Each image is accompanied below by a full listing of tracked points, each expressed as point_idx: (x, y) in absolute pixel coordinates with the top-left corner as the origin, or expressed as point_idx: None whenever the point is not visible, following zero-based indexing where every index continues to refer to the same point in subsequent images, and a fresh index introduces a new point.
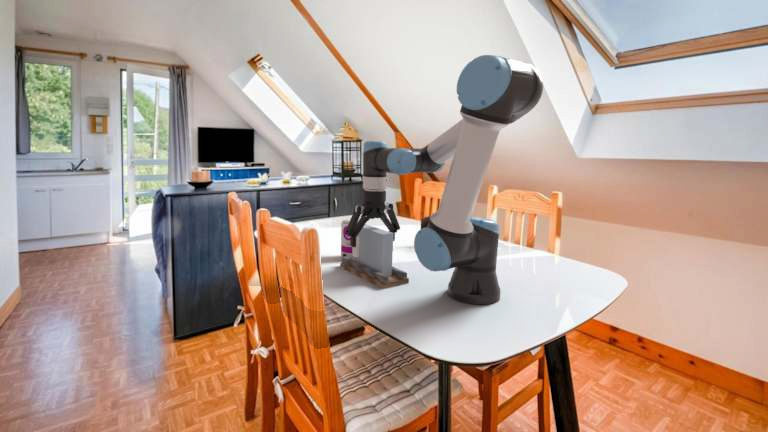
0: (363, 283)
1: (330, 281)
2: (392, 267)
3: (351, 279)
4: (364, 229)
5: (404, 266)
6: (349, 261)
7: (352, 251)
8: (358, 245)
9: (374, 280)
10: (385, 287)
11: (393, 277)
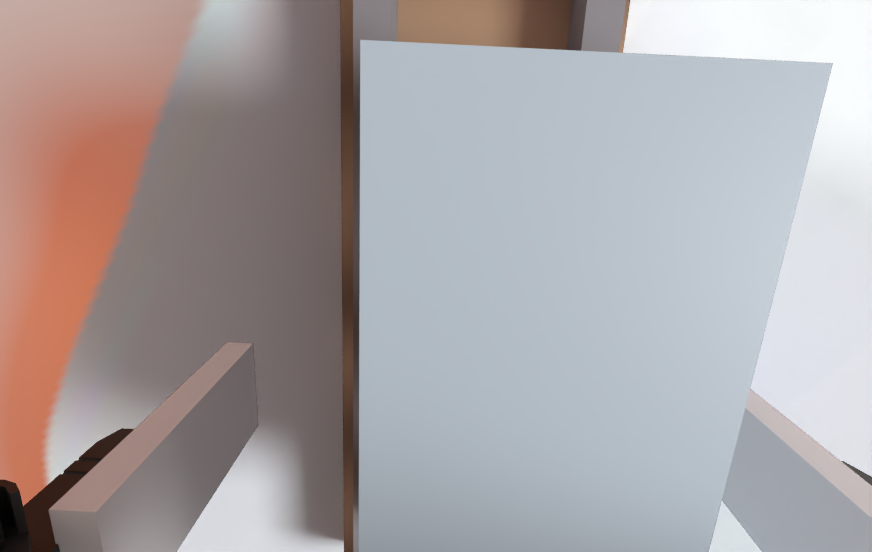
0: (301, 416)
1: (117, 268)
2: None
3: (270, 314)
4: (364, 541)
5: (802, 293)
6: (355, 110)
7: (205, 364)
8: (189, 521)
9: (345, 485)
10: None
11: None
